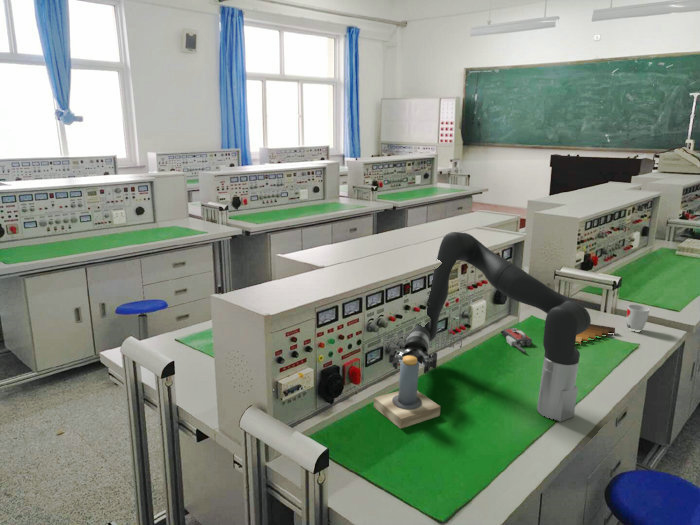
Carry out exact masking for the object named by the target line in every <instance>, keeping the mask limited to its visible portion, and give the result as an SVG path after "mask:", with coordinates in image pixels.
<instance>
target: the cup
mask: <svg viewBox="0 0 700 525" xmlns="http://www.w3.org/2000/svg"><path fill="white" fill-rule="evenodd" d="M649 313H650V308H649V307H647V306H644V305H641V304H640V305H639V304H628V305H627V308H626V328H627V327H628V328H631V329H635V330H642V331H643V329H644V328H645V326H646V323H647V321H648V318H649V315H650V314H649ZM628 328H627V329H628Z"/></svg>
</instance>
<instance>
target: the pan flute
mask: <svg viewBox="0 0 700 525" xmlns="http://www.w3.org/2000/svg"><path fill="white" fill-rule="evenodd" d="M615 331H616V327H612V326H605V325H600V324H594V323H593V324H592V323H590V326H589V327H588V329H587V330H585V331H584V332H582V333H580V334H578V335H576V342H575V343H578V344H581V345H582V342H581V341H588V342H589V340H588V338H591V339H595V340H596V338H595V336H599V337H603V336H602V335H606V336H608V337H609V334H608V333H616V332H615Z"/></svg>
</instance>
